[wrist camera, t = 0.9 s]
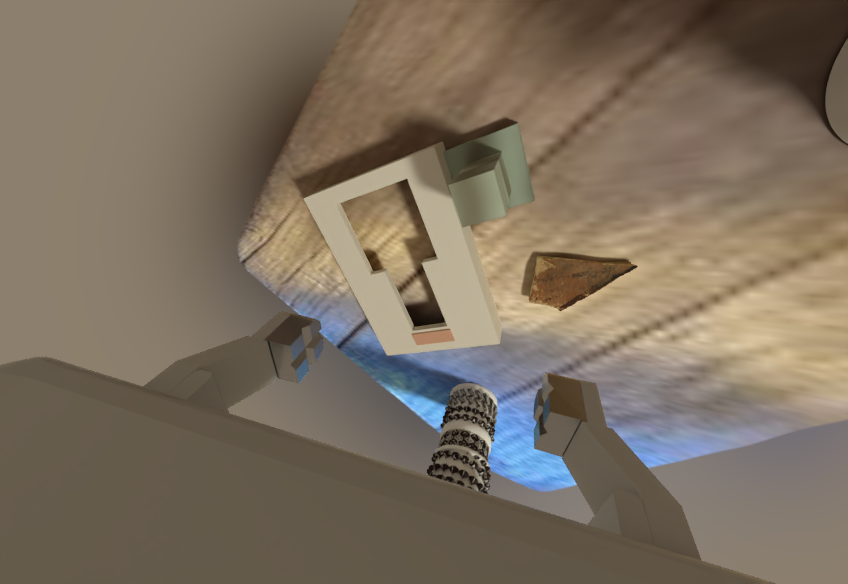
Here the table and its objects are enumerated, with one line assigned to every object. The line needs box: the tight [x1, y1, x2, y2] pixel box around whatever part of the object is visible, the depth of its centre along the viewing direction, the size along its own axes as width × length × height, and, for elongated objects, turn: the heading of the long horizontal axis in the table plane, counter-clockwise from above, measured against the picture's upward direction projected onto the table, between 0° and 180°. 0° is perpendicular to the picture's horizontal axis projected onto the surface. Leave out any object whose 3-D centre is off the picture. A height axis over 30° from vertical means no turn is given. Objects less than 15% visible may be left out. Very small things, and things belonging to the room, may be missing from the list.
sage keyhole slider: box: [443, 123, 534, 228], centre depth 32 cm, size 8×8×10 cm
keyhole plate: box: [303, 141, 502, 356], centre depth 43 cm, size 18×26×4 cm
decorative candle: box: [427, 383, 497, 494], centre depth 47 cm, size 9×9×25 cm
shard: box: [529, 256, 638, 311], centre depth 40 cm, size 11×8×2 cm
